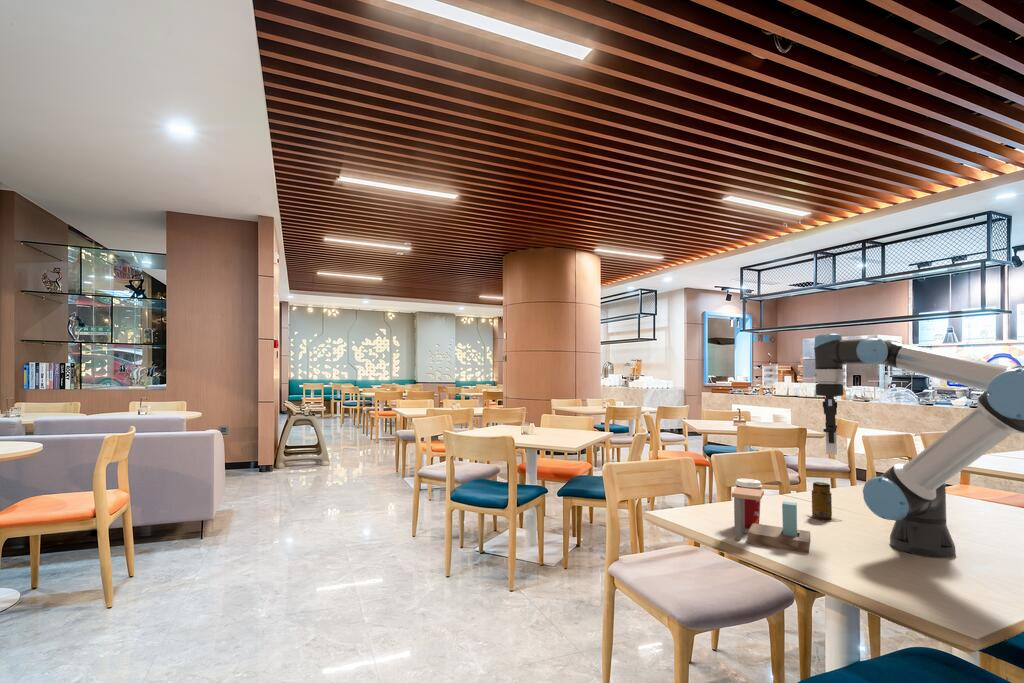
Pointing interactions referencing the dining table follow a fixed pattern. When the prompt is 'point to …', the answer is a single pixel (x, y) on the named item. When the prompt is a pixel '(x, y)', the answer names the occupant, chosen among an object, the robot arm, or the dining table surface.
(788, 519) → the peg
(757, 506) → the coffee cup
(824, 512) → the condiment
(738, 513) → the toy block arch
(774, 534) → the socket block
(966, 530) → the dining table surface
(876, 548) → the dining table surface
